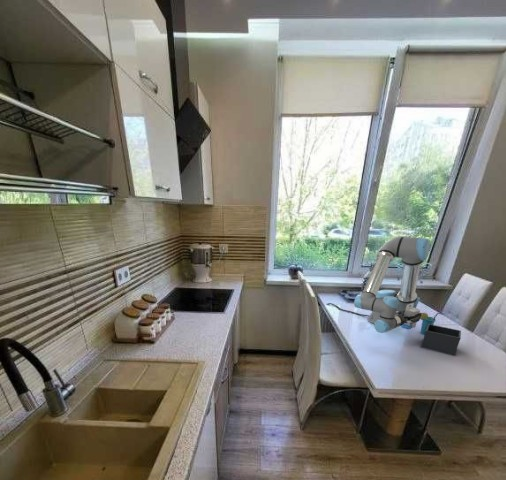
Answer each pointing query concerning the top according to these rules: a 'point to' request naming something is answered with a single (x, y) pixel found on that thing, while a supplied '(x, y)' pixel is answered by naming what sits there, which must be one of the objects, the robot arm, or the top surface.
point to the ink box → (410, 312)
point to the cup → (427, 321)
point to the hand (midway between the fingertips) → (415, 313)
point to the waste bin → (441, 339)
